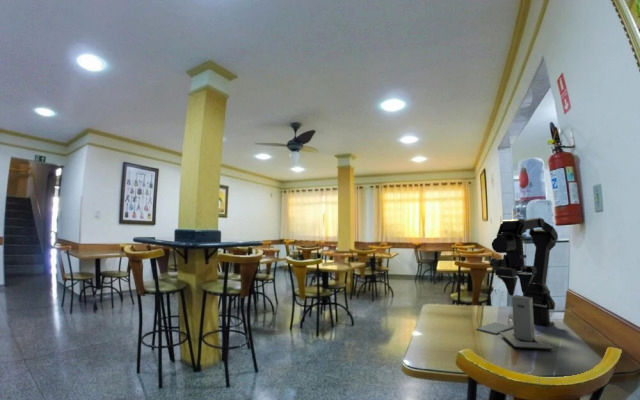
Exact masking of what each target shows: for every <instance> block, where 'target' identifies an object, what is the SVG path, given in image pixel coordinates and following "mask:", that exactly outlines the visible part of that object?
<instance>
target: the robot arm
mask: <svg viewBox="0 0 640 400" xmlns="http://www.w3.org/2000/svg"><path fill="white" fill-rule="evenodd" d="M527 230H528V231H529V232H528V234H529V236H530V237H531V241H532V244H534V246H535V247H534V248H535V249H534V250H535V251H534V258H533V265H527V264H526V263H525V259H527V254H525V253H524V242H523V241H524V240H525V237H524V236H523V234H525V233H526V232H527ZM558 237H559V236H558V232H557V231H556V229H555V228H554V226H553V225H551V224H549V223H547V222H546V221H545V220H544V218H542V217H530V218H528V219H524V218H523V219H521V218H513V219H512V218H511V219H502V221H501V223H500V225H499V228H498V231H497V233H496V237H495V238H494V239H493V240H492V242H491V248H492V249H493V251H494V252H496V253H497V254H503V255H502V257H503V258H500V259H498V258H490V259H489V266H490V267H491V268H492V269H493V271H494V275H495V276H496V277H497V278H498V279H499V278H500V279H501V281H503V283H504V286H505V287H506V290H507V292H508V295H509V296H510V297H511V296H512V297H513V296H514V294H515V290H516V286H517V282H518V279H519V283H520V284H519V285H520V289H521V292H522V296H525V297H532V299H533V318H534V325H535V324H536V325H539V326H544V327H549V326H551V325H554V324H555V322H554V321H551V319H550V318H551V317H550V311H551V310H552V311H554V310H555V308H556V303H555V300H553V298H552V296H551V291H550V289H549V287H548V286H547V277H548V271H549V270H548V268H549V261H550V251H552V249H553V248H554V247H555V246H556V243H557V240H558ZM525 264H526V265H525Z"/></svg>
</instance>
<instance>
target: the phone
mask: <svg viewBox="0 0 640 400" xmlns="http://www.w3.org/2000/svg"><path fill="white" fill-rule="evenodd" d="M512 329H514V325H513V326H512V325H510V324H509V325H508V324H504V323H500V322H492V323H489V324H486V325H483V326H481V327H478V328H476V329H475V330H476V331H479V332H483V333H487V334H491V335H495V336H496V335H499V334H500V332H507V331H509V330H512Z"/></svg>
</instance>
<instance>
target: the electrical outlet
mask: <svg viewBox="0 0 640 400" xmlns="http://www.w3.org/2000/svg"><path fill="white" fill-rule="evenodd" d="M499 334H500V335H501V336H502V337H503V338H504V339H505V340H506V341H508V342H509V344H511V345H512V346H513V347H515V348H516V349H525V350H526V349H527V350H543V351H544V350H545V351H546V350H547V351H551V350H553V349H554V346H552V345H551V344H549V343H547V341H545V340H544V339H542V338H541V337H539V336H537V335H536V334H534V336H535V339H534V340H533V341H532V342H531V341H527V340H522V339H518V338H514V332H507V331H505V332H500V333H499Z"/></svg>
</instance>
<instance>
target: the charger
mask: <svg viewBox="0 0 640 400" xmlns="http://www.w3.org/2000/svg"><path fill="white" fill-rule="evenodd" d="M511 298H512V303H511V305H512V318H513V319H512V321H513V322H512V323H513V327H514V328H513V333H514V338H518V339H522V340H527V341H531V342H532V341H533V340H534V339H535V336H534V335H535V323H534V318H533V299H532V297H525V296H523V295H518V294H515V295H513V296H512V297H511Z"/></svg>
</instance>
